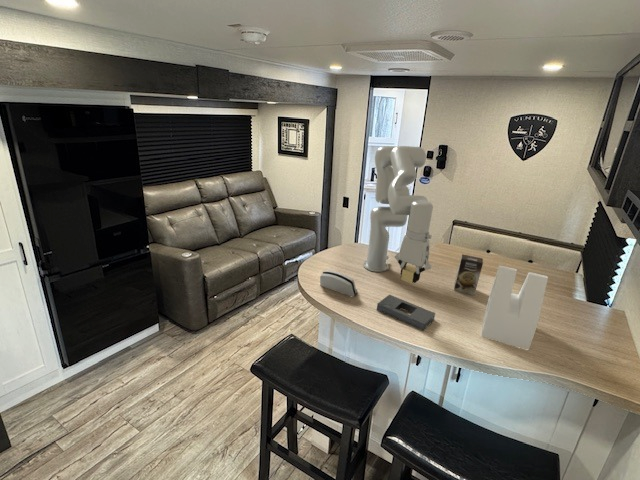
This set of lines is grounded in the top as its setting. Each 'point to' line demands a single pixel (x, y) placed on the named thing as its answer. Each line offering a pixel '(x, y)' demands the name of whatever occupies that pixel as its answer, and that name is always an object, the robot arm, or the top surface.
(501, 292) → the white slotted block
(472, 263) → the coffee box
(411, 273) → the brass cube
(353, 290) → the hinge
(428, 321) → the grey square hole block
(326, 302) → the top surface
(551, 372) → the top surface
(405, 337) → the top surface
